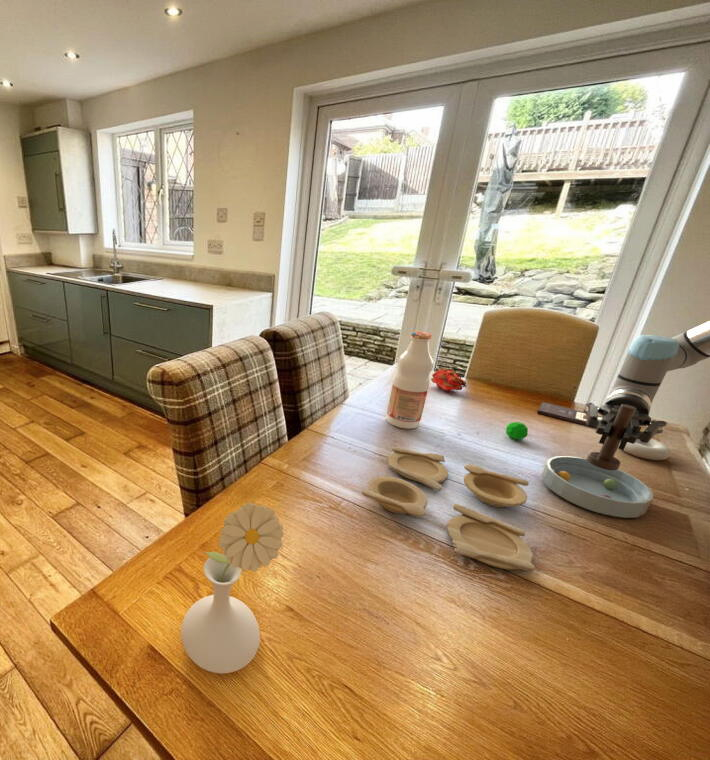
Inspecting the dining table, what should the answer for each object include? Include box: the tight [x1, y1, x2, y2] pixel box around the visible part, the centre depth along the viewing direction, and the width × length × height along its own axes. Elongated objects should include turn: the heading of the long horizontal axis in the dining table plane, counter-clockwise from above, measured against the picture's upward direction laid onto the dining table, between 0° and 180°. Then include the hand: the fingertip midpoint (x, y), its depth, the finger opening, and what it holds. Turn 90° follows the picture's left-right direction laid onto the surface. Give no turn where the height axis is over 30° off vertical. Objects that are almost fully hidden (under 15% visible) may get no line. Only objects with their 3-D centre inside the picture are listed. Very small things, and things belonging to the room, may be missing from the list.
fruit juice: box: [385, 331, 434, 430], centre depth 115 cm, size 9×9×28 cm
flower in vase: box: [180, 502, 285, 674], centre depth 53 cm, size 13×11×25 cm
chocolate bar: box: [537, 401, 604, 429], centre depth 123 cm, size 9×1×18 cm
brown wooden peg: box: [586, 404, 636, 470], centre depth 83 cm, size 5×5×14 cm
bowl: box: [541, 455, 654, 519], centre depth 88 cm, size 17×17×4 cm
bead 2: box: [603, 479, 618, 490], centre depth 89 cm, size 2×2×2 cm
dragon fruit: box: [430, 367, 467, 394], centre depth 143 cm, size 8×8×12 cm
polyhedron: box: [505, 421, 529, 441], centre depth 111 cm, size 5×5×5 cm
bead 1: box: [557, 471, 571, 481], centre depth 92 cm, size 2×2×2 cm
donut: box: [618, 438, 672, 461], centre depth 105 cm, size 10×4×10 cm
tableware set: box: [361, 446, 535, 572], centre depth 85 cm, size 35×29×4 cm
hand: (613, 440), depth 80 cm, fingers closed on brown wooden peg, 2 cm apart
